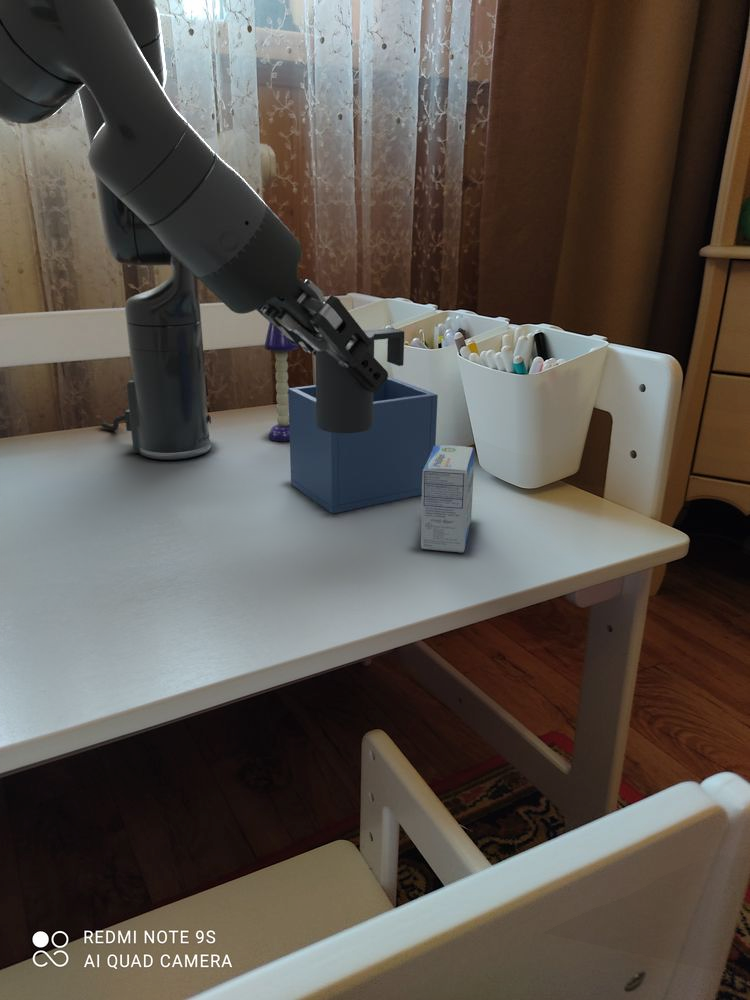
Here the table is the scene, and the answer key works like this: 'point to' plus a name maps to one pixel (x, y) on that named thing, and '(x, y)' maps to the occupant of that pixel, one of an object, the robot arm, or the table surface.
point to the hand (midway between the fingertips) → (362, 376)
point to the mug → (350, 387)
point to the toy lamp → (280, 380)
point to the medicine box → (447, 498)
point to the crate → (363, 449)
